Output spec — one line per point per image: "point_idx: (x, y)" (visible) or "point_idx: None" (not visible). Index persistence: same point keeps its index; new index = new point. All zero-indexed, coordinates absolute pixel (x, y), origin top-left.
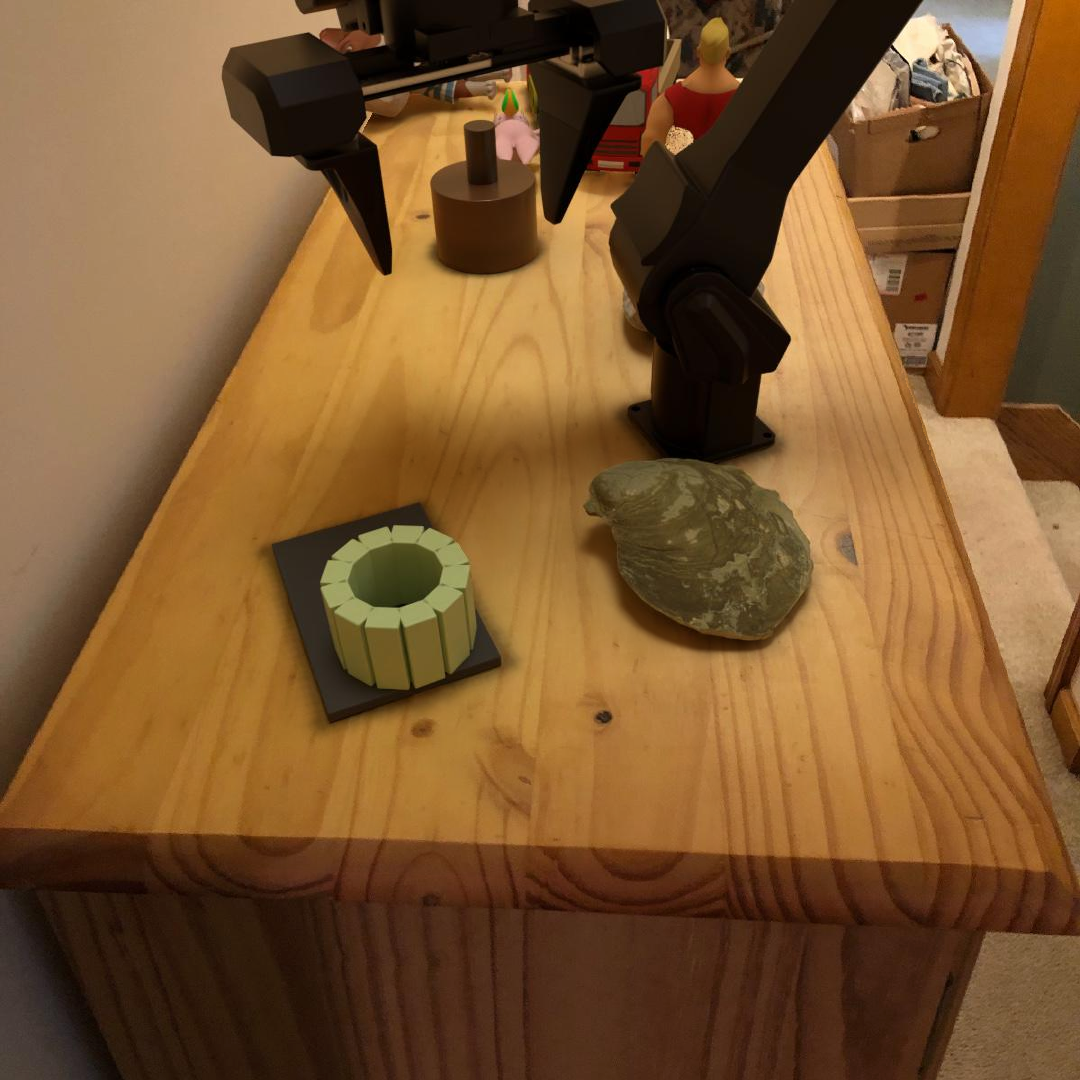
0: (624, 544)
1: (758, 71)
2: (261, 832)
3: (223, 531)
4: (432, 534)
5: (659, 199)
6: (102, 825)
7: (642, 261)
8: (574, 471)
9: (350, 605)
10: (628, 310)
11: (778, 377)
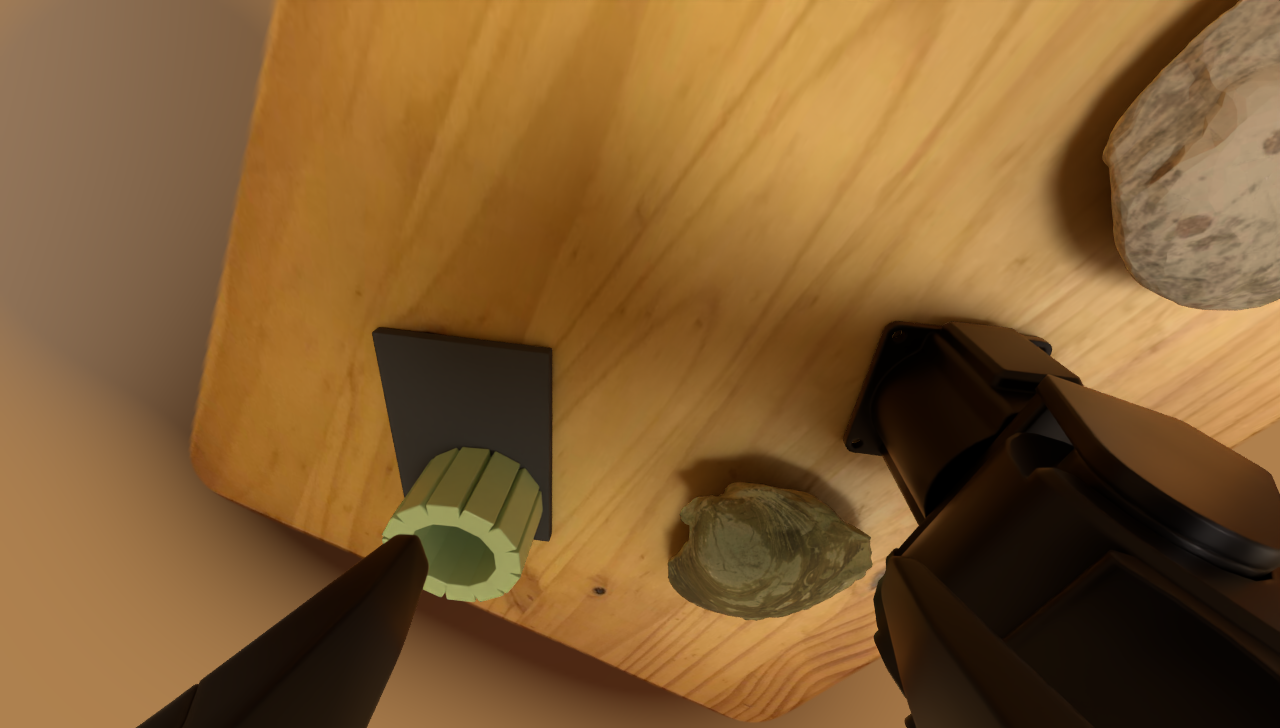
0: (683, 566)
1: None
2: (362, 554)
3: (320, 261)
4: (498, 537)
5: None
6: (257, 508)
7: (909, 726)
8: (747, 378)
9: None
10: (1137, 121)
11: (1139, 356)
